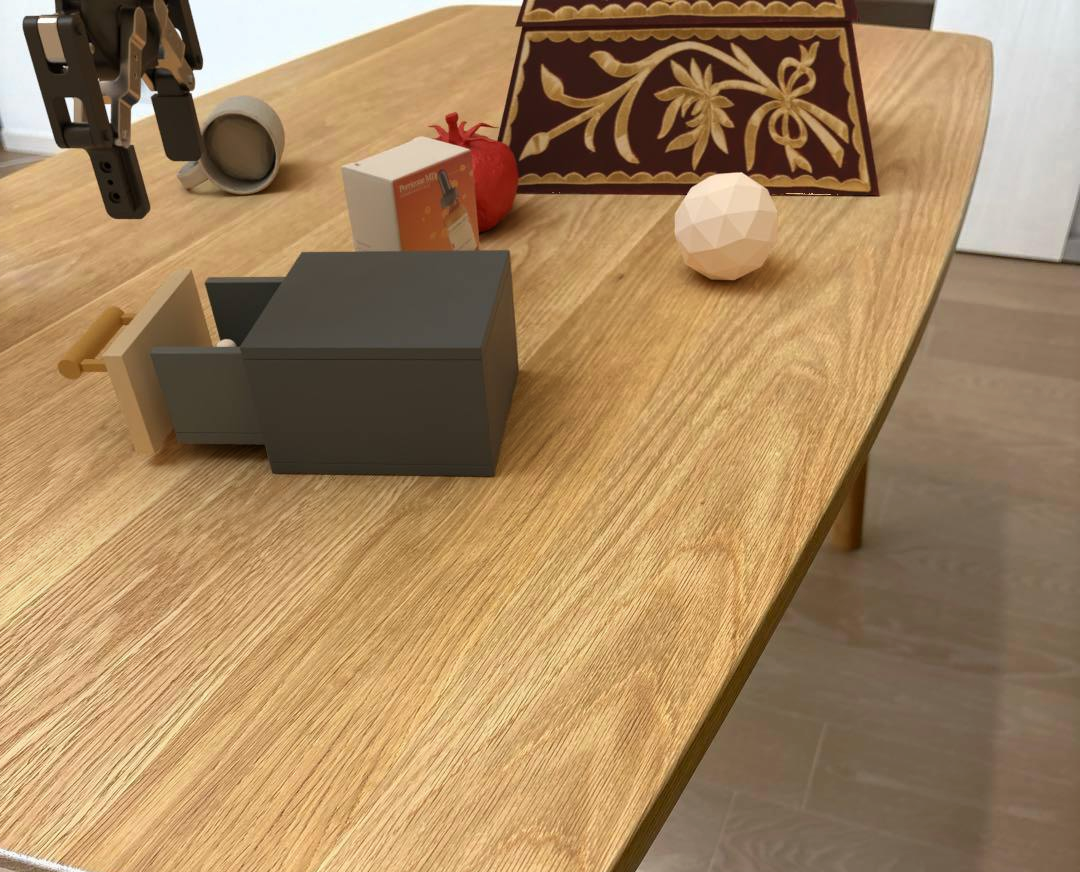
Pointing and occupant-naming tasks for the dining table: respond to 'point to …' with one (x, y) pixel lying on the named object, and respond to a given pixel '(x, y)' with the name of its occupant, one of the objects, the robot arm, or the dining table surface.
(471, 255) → the cabinet
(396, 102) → the dining table surface
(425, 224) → the small box
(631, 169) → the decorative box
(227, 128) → the ceramic mug
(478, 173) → the pomegranate
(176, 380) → the drawer
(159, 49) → the robot arm
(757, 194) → the geometric ball
